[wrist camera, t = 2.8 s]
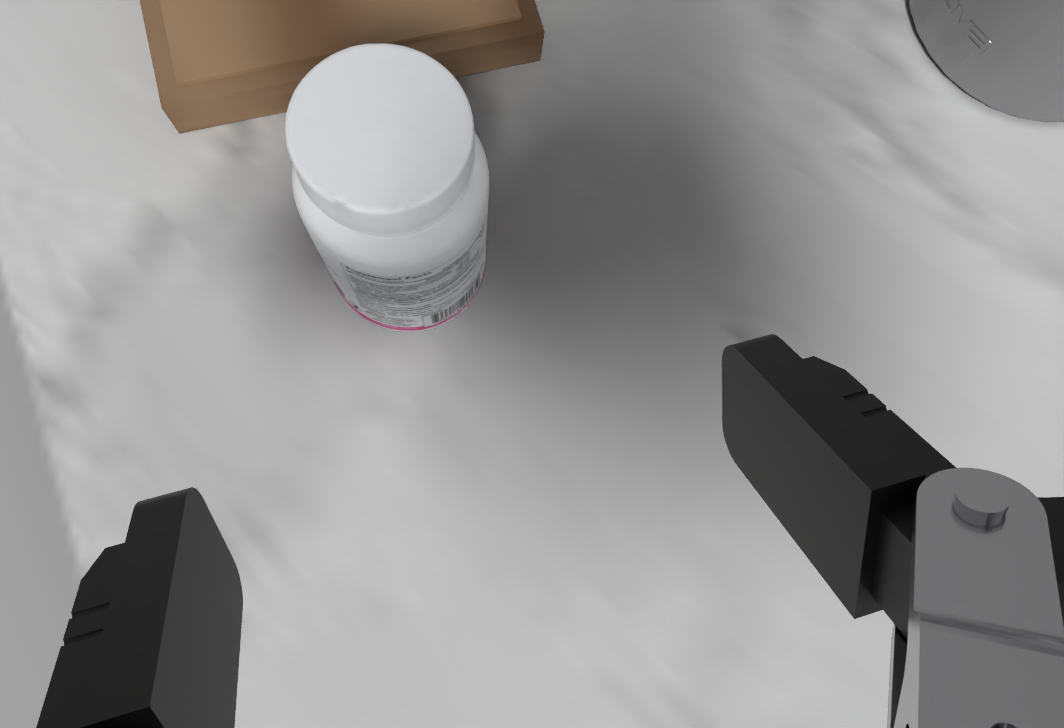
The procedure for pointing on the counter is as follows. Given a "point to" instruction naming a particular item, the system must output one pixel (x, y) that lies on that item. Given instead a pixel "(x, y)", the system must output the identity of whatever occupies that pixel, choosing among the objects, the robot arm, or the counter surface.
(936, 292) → the counter surface
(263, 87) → the walnut tray
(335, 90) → the pill bottle
